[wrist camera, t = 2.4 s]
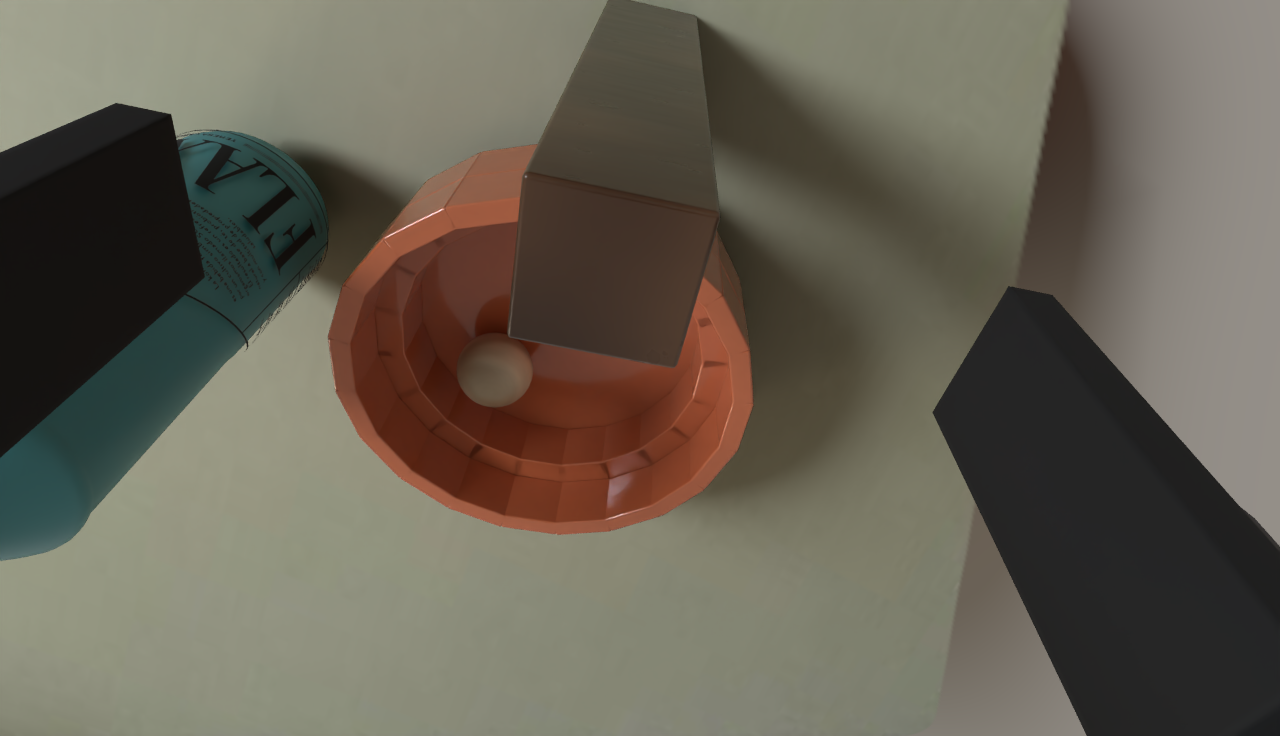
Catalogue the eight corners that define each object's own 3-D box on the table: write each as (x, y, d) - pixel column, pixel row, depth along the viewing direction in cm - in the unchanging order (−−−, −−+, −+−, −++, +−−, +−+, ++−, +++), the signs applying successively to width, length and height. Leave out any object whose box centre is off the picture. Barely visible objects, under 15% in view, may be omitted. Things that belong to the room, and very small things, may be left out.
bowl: (642, 60, 24) (633, 112, 19) (790, 380, 32) (810, 472, 27) (309, 235, 28) (235, 312, 24) (512, 475, 37) (487, 568, 32)
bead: (513, 307, 29) (497, 351, 26) (552, 362, 31) (540, 408, 28) (452, 333, 30) (431, 378, 27) (493, 385, 32) (477, 432, 29)
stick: (595, 87, 24) (505, 338, 12) (609, -5, 23) (521, 171, 10) (676, 105, 25) (676, 371, 12) (697, 15, 23) (722, 215, 10)
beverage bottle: (384, 208, 28) (-23, 691, 12) (287, 291, 30) (-153, 778, 14) (243, 71, 25) (-564, 468, 9) (150, 177, 27) (-602, 630, 11)
